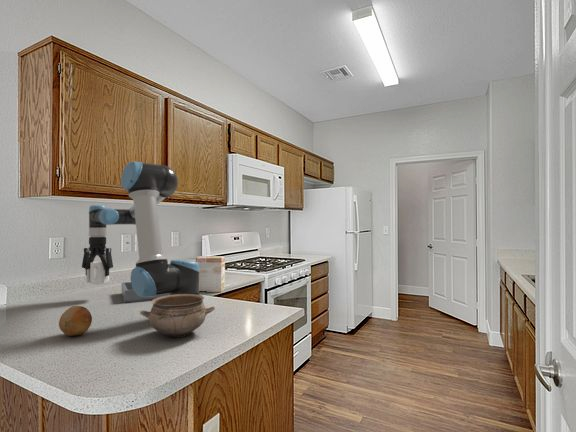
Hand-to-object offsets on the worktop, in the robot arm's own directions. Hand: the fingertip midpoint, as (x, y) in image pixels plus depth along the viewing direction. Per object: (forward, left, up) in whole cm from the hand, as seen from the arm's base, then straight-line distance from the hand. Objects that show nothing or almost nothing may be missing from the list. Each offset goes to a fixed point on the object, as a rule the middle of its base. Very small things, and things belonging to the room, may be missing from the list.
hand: (97, 282), depth 168 cm
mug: (0, -1, -1) cm, 1 cm away
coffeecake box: (+34, -45, -9) cm, 57 cm away
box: (+16, -18, -9) cm, 25 cm away
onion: (-46, -30, -9) cm, 55 cm away
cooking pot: (-38, -64, -9) cm, 75 cm away
